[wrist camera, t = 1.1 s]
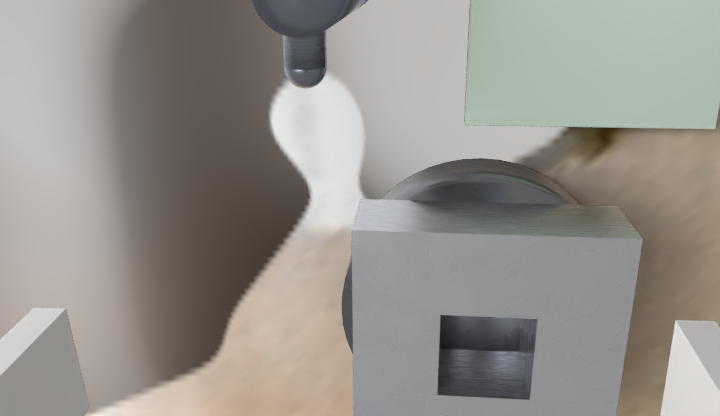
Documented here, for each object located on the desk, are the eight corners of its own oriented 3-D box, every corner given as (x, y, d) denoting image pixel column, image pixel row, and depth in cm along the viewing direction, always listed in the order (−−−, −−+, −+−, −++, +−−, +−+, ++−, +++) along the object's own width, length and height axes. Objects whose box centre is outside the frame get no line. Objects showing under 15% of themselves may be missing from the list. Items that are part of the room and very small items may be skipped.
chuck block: (348, 155, 36) (327, 207, 28) (619, 161, 34) (672, 217, 27) (351, 378, 41) (334, 473, 33) (588, 390, 39) (626, 491, 32)
